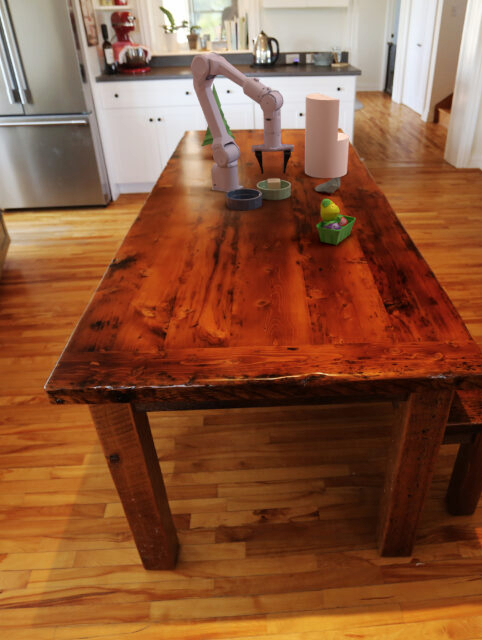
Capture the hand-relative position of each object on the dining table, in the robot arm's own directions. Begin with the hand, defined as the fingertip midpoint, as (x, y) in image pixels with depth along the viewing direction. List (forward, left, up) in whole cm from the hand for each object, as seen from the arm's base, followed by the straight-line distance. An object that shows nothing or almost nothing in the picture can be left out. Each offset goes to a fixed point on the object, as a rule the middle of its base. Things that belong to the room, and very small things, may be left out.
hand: (273, 173), depth 171 cm
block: (0, 0, -8) cm, 8 cm away
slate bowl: (-4, -14, -8) cm, 16 cm away
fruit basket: (+34, -27, -8) cm, 44 cm away
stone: (+16, +12, -8) cm, 22 cm away
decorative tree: (-46, +36, -8) cm, 59 cm away
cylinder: (+6, +35, -8) cm, 37 cm away
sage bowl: (0, 0, -8) cm, 8 cm away
